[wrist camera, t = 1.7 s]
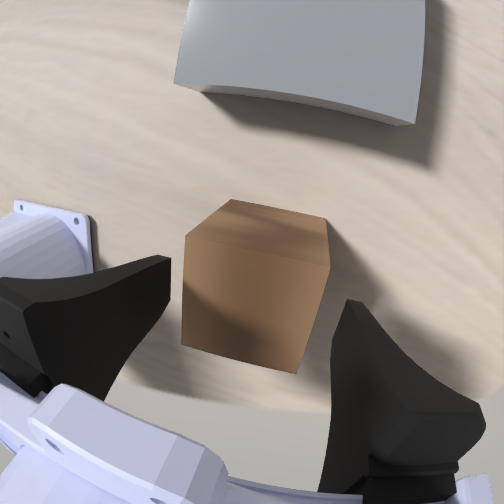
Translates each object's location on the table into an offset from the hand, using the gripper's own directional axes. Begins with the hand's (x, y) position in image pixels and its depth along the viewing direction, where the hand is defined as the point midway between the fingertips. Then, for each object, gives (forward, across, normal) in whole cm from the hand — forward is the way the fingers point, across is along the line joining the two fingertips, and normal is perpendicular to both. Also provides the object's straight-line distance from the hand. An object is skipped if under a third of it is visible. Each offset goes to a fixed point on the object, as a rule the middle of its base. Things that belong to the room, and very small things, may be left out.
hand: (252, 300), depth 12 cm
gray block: (+6, 0, -13) cm, 14 cm away
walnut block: (+5, 0, 0) cm, 5 cm away
